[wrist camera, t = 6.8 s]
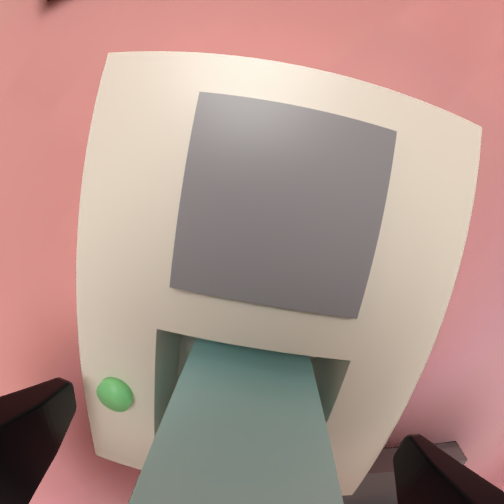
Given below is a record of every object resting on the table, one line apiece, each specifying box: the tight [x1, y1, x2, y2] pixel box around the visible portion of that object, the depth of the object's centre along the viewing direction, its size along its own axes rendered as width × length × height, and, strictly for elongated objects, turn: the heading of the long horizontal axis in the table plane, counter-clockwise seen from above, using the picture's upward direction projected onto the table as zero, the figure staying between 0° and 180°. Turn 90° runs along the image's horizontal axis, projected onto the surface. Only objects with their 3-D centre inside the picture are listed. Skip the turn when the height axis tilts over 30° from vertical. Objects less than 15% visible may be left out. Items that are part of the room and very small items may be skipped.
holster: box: [342, 441, 467, 504], centre depth 12 cm, size 6×6×2 cm
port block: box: [76, 51, 482, 496], centre depth 9 cm, size 9×12×4 cm
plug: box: [128, 338, 344, 504], centre depth 7 cm, size 3×3×8 cm
